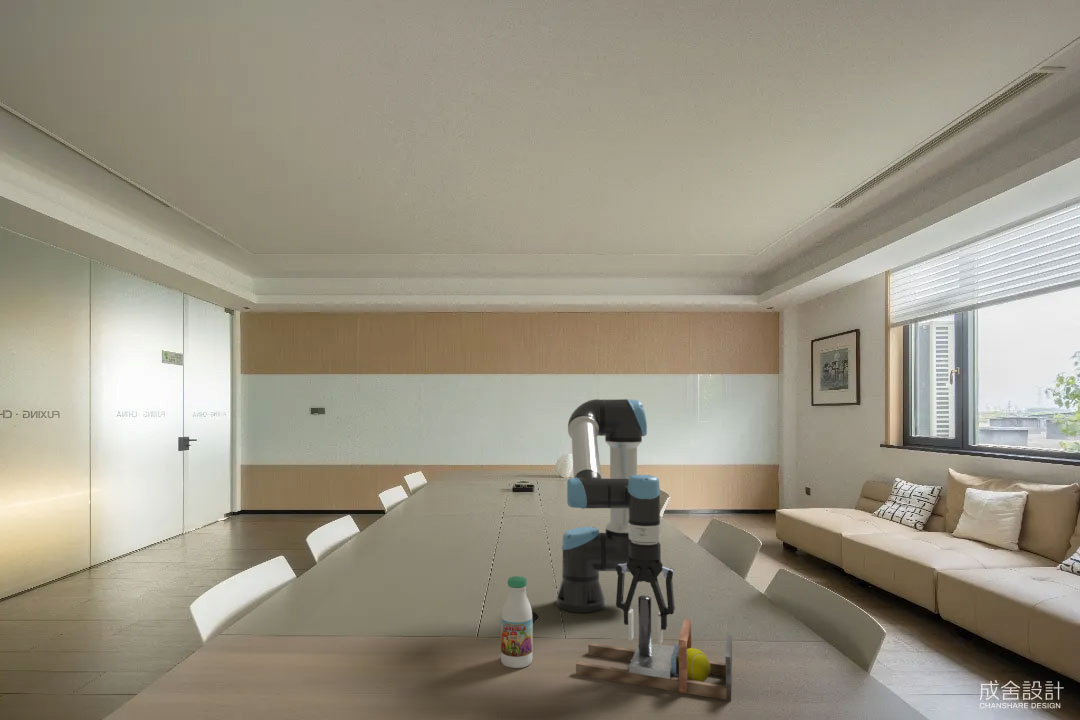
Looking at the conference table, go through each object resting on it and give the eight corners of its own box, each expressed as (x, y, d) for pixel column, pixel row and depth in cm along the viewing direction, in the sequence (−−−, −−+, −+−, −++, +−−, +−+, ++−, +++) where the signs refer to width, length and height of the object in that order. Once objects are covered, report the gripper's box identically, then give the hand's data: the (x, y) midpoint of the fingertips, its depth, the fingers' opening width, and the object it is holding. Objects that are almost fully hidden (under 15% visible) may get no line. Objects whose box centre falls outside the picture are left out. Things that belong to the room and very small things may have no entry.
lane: (575, 674, 133) (575, 625, 134) (589, 652, 145) (589, 607, 146) (731, 701, 121) (730, 646, 122) (732, 674, 133) (731, 625, 134)
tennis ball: (672, 677, 132) (671, 646, 132) (696, 671, 135) (696, 641, 135) (691, 691, 125) (691, 658, 126) (716, 685, 128) (716, 653, 129)
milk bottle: (500, 655, 143) (501, 574, 144) (531, 654, 144) (531, 573, 145) (501, 669, 135) (501, 583, 137) (533, 668, 136) (533, 583, 137)
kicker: (629, 682, 128) (628, 605, 130) (639, 657, 141) (639, 587, 142) (674, 690, 125) (673, 611, 126) (681, 664, 138) (680, 592, 139)
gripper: (601, 541, 136) (602, 641, 134) (683, 548, 129) (685, 653, 128) (608, 534, 143) (609, 629, 141) (686, 540, 136) (688, 640, 135)
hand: (645, 640), depth 134 cm, fingers open, 6 cm apart
